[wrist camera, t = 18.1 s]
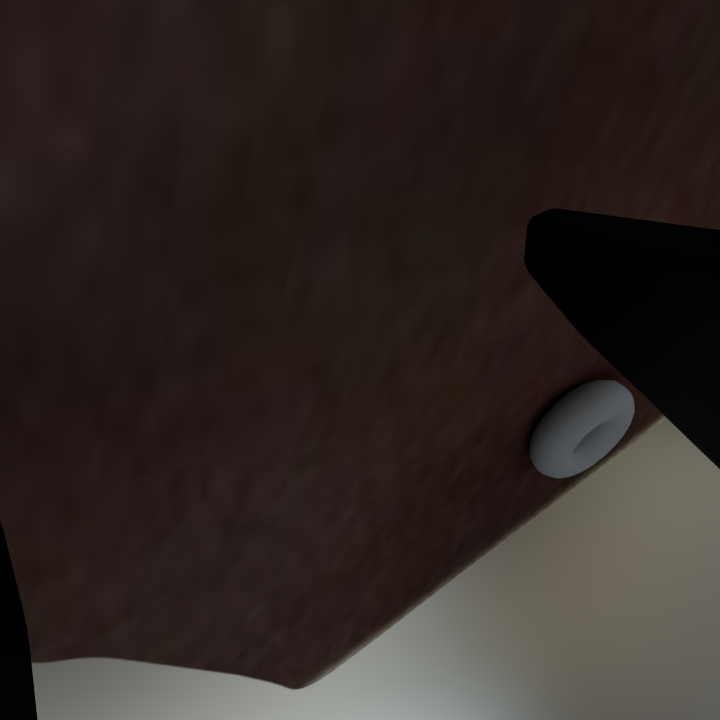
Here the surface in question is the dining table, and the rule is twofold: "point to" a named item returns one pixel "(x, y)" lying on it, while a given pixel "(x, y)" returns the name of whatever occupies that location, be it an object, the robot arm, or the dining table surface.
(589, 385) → the donut
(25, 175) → the dining table surface
